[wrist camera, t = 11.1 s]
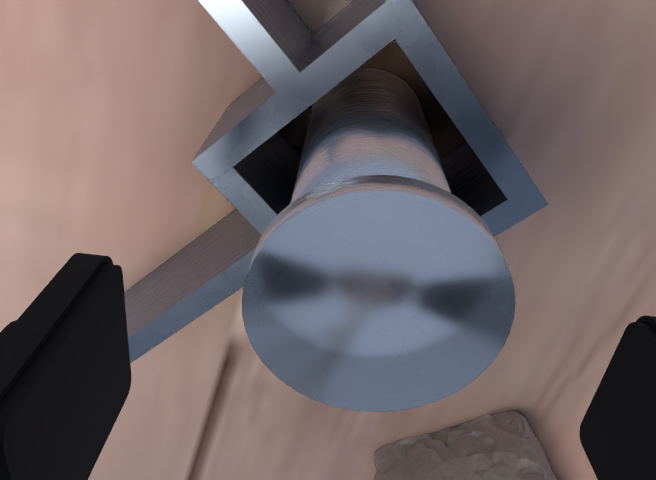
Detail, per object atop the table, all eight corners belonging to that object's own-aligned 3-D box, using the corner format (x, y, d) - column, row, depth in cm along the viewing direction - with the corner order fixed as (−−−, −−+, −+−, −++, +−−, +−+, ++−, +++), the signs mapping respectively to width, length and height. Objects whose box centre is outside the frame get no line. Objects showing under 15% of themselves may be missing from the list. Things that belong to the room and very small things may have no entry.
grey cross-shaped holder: (505, 140, 20) (548, 204, 15) (177, 356, 25) (141, 445, 21) (147, -394, 13) (46, -544, 9) (-180, 58, 19) (-336, 100, 15)
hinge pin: (464, 136, 20) (564, 337, 10) (353, 212, 21) (351, 444, 12) (381, 19, 18) (412, 134, 8) (266, 113, 19) (185, 295, 10)
